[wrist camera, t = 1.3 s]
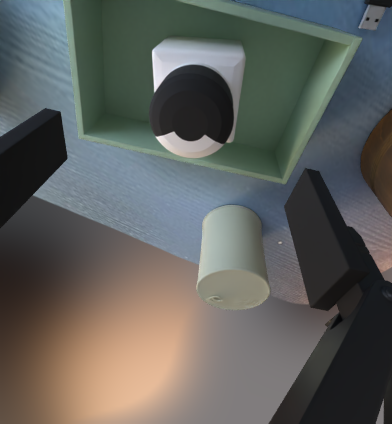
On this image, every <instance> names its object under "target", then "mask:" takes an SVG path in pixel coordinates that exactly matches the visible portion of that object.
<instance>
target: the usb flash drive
mask: <svg viewBox="0 0 392 424" xmlns="http://www.w3.org/2000/svg"><path fill="white" fill-rule="evenodd" d="M365 4H369V5H368V7H367V9H366V11H365V14H364V16H363V18H362V21H361V23H360V25H359V27H358V28H362V29H368V30H376V28H377V26H378V24H379V22H380V20H381V18H382V16H383V14H384V11H385V9H386V7H388V8H390V7H391V6H392V0H366V1H365Z"/></svg>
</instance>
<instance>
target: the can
mask: <svg viewBox="0 0 392 424" xmlns="http://www.w3.org/2000/svg"><path fill="white" fill-rule="evenodd" d="M261 229H262V225H261V221H260V219H259V217H258V216H257V214H256V213H255V212H253V211H252V210H250V209H248V208H246V207H243V206H239V205H225V206H221V207H218V208H216V209H214V210H212V211H211V212H209V213H208V214H207V215H206V217H205V218H204V220H203V224H202V230H203V234H202V246H201V256H200V266H199V275H198V282H197V287H196V289H197V293H198V295H199V297H200V298H201V299H202V300H203V301H205V302H206V303H208V304H209V305H212V306H214V307H217V308H221V309H226V310H244V309H249V308H253V307H256V306H258V305H260V304H262V303H263V302H264V301H266V300H267V298H268V297H269V295H270V285H269V280H268V274H267V268H266V262H265V255H264V248H263V240H262V233H261Z"/></svg>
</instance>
